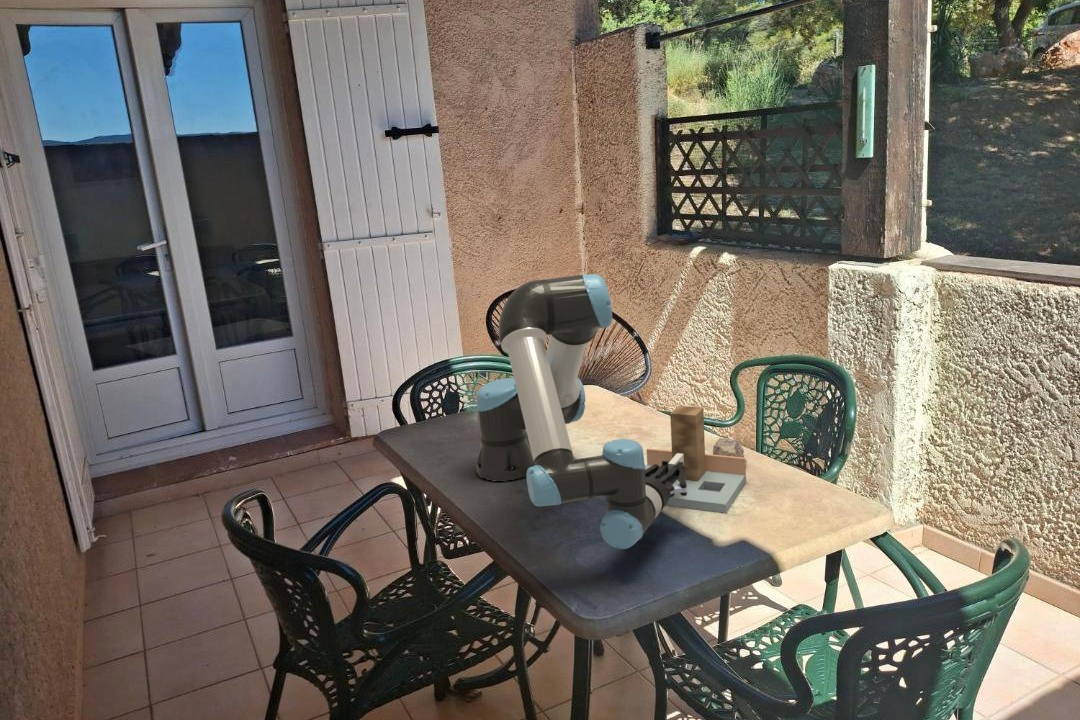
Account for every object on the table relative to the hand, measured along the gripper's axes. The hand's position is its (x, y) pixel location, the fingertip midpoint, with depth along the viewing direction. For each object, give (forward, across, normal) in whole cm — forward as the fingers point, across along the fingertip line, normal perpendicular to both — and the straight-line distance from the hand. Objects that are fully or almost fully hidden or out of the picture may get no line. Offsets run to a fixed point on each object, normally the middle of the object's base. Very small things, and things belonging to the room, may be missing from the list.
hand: (680, 459), depth 184 cm
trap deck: (+2, 0, -9) cm, 9 cm away
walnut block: (+7, 0, -7) cm, 10 cm away
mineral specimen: (+20, +6, -9) cm, 23 cm away
